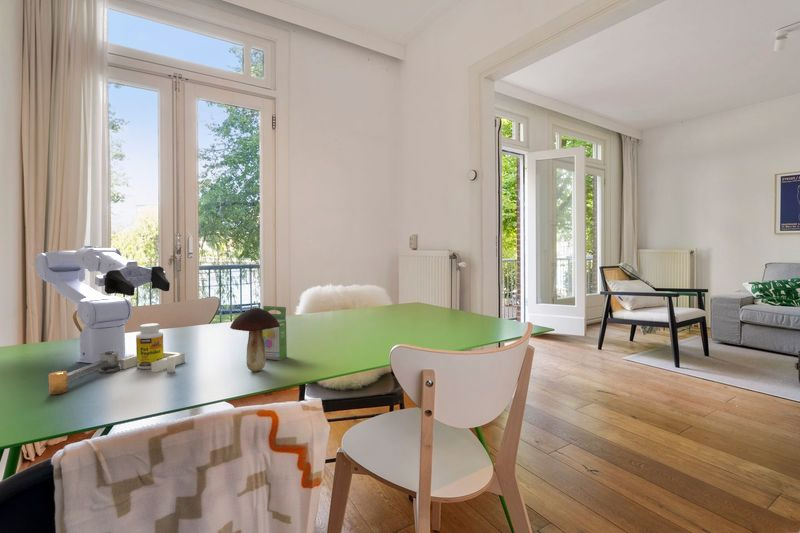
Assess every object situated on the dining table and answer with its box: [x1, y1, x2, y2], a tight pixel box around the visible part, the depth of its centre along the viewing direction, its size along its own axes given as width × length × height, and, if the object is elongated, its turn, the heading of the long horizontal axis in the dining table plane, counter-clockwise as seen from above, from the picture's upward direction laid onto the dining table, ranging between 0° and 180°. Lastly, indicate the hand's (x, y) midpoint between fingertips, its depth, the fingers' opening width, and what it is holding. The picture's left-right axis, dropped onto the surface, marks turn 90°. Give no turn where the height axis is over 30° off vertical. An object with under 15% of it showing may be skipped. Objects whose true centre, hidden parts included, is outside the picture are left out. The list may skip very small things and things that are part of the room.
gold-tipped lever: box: [48, 351, 120, 395], centre depth 86 cm, size 17×4×4 cm, turn 0°
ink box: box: [262, 305, 288, 361], centre depth 104 cm, size 7×4×13 cm, turn 75°
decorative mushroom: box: [229, 307, 280, 373], centre depth 93 cm, size 11×11×15 cm
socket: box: [119, 350, 186, 373], centre depth 97 cm, size 10×9×2 cm
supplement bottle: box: [135, 322, 164, 370], centre depth 96 cm, size 6×6×10 cm
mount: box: [98, 365, 121, 375], centre depth 93 cm, size 4×4×1 cm
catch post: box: [166, 356, 176, 374], centre depth 92 cm, size 2×2×4 cm
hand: (151, 289), depth 90 cm, fingers open, 7 cm apart
